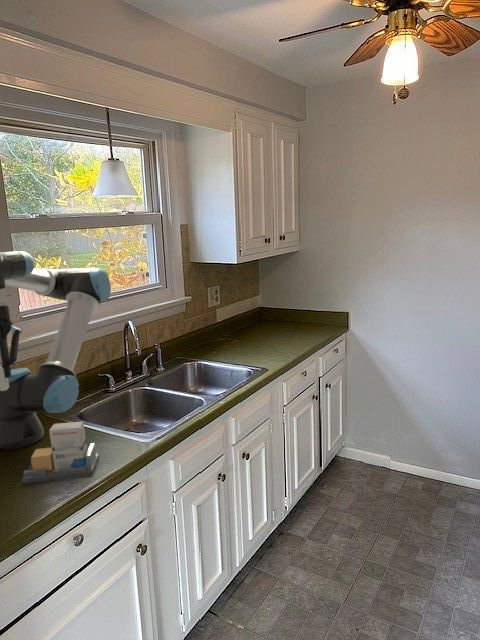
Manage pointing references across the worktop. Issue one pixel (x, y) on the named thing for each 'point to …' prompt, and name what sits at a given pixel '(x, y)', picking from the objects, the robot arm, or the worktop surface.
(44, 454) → the tan wooden cube
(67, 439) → the ink box
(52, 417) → the worktop surface
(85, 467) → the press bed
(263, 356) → the worktop surface
